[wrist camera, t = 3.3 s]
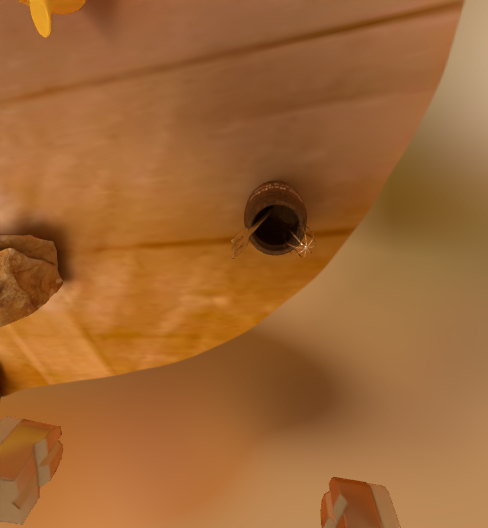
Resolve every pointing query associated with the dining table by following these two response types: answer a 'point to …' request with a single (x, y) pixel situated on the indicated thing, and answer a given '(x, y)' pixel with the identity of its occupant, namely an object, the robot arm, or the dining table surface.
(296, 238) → the utensil holder
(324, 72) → the dining table surface
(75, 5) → the teapot
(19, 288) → the stone
